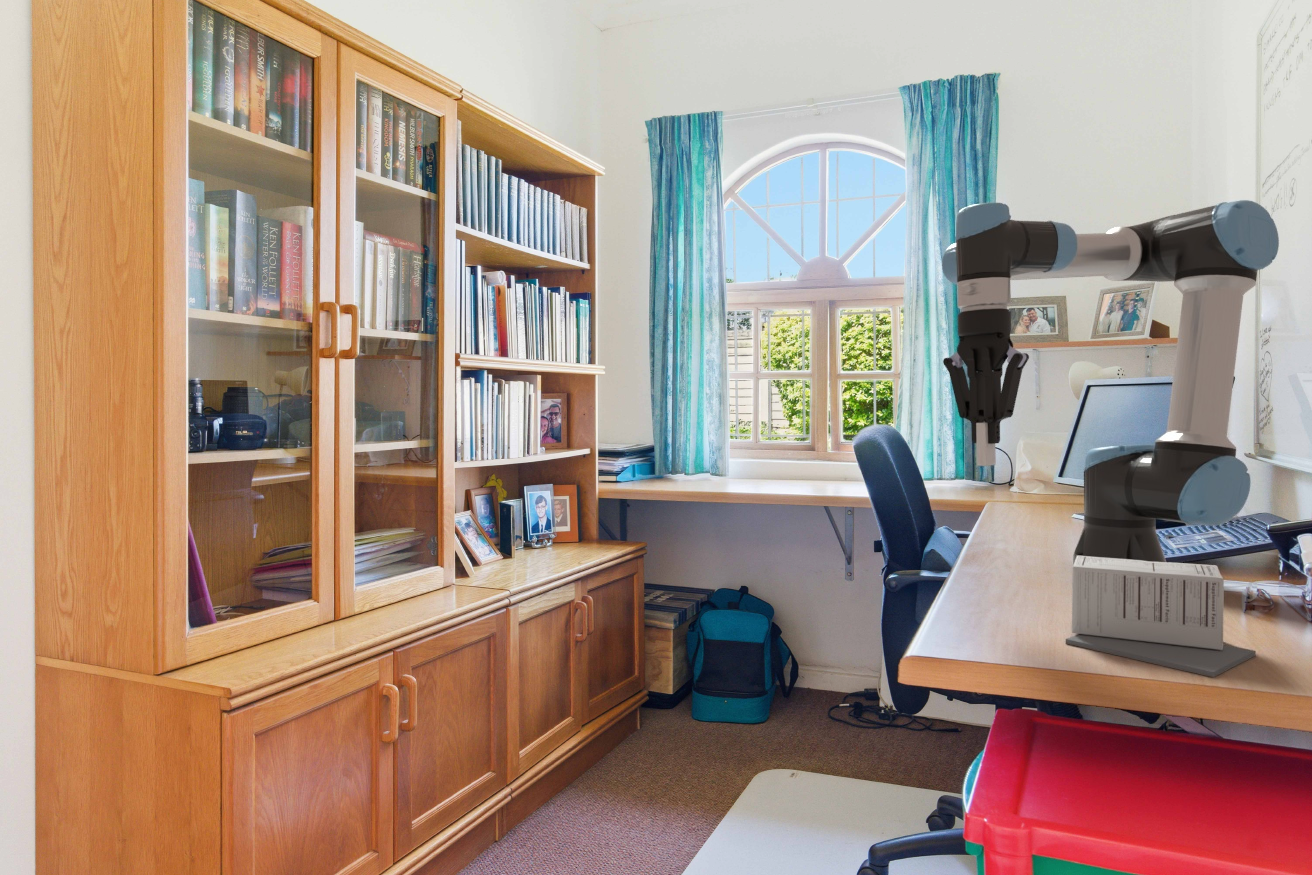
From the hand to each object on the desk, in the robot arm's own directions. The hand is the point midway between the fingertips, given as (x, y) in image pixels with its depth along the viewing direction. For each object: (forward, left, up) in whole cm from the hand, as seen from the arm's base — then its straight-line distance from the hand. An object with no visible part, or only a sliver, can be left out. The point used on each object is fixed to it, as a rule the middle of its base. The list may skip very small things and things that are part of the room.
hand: (986, 465), depth 127 cm
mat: (+3, +26, -22) cm, 34 cm away
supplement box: (+2, +14, -17) cm, 22 cm away
